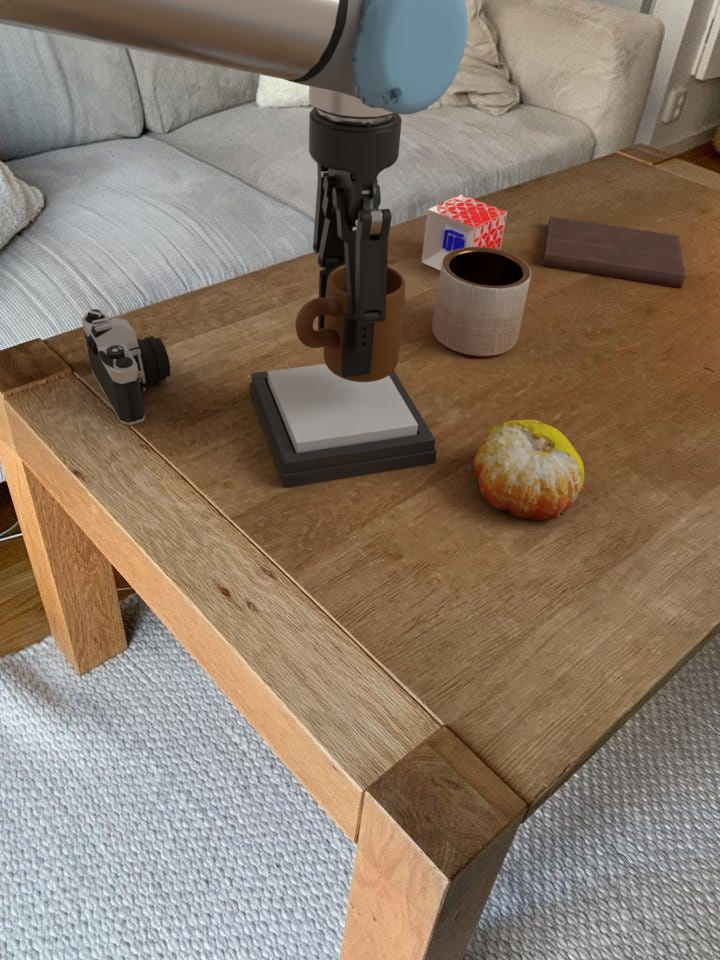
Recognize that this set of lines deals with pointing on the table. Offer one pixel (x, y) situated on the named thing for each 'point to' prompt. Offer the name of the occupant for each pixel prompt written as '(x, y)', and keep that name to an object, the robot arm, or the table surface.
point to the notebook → (614, 251)
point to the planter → (480, 301)
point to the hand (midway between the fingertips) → (343, 350)
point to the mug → (332, 333)
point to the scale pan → (337, 408)
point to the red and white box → (461, 228)
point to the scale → (338, 459)
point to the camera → (123, 363)
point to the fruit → (529, 470)
